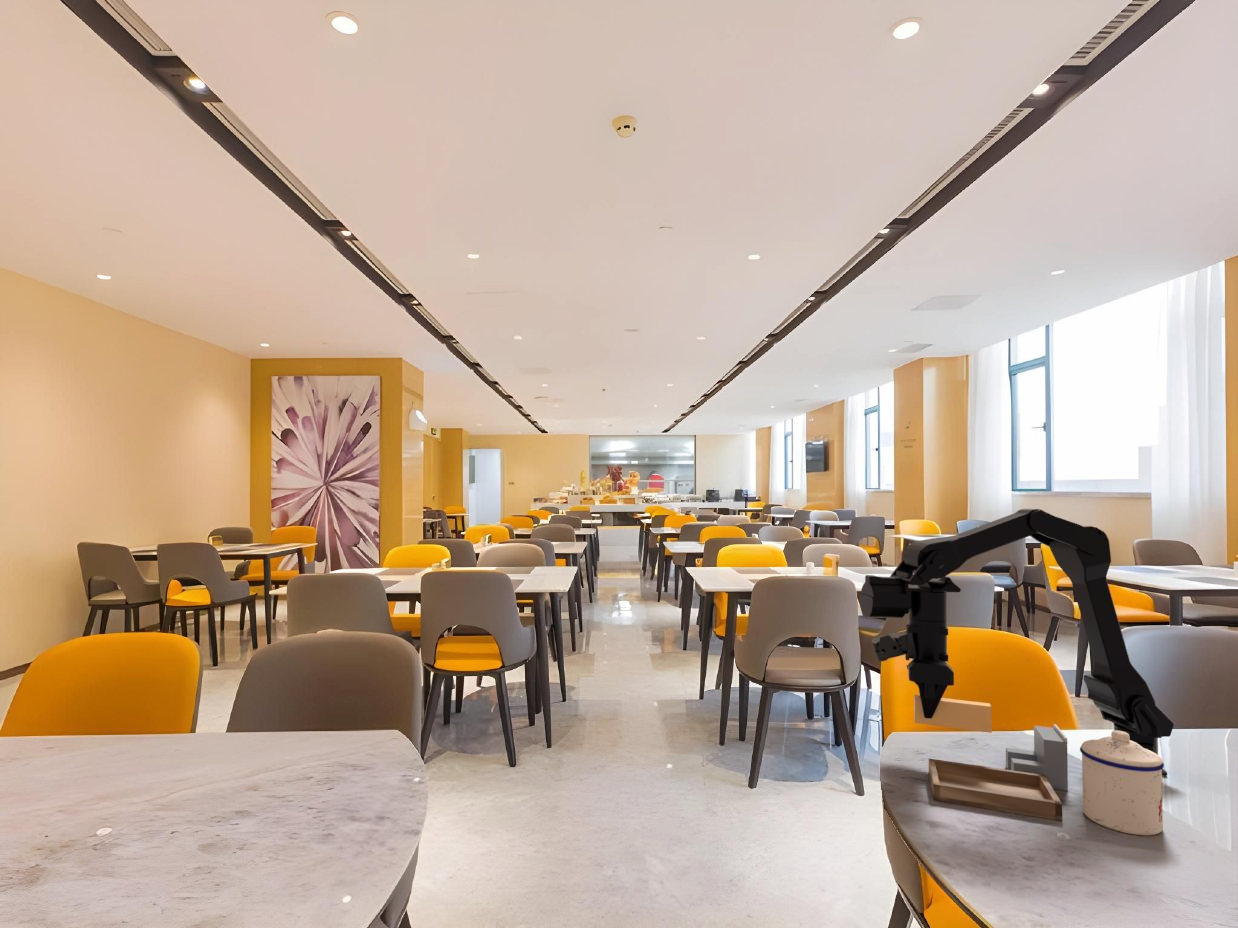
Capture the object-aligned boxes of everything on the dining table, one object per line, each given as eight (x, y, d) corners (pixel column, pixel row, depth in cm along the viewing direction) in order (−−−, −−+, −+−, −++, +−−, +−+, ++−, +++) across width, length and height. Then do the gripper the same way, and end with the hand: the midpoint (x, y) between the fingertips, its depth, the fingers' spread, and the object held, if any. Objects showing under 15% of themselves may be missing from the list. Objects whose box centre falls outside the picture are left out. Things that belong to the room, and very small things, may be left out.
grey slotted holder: (1005, 766, 110) (1005, 718, 110) (1056, 773, 107) (1055, 724, 108) (1013, 782, 103) (1013, 731, 104) (1067, 790, 101) (1067, 738, 101)
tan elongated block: (914, 719, 113) (914, 694, 113) (989, 728, 109) (989, 703, 109) (914, 722, 111) (914, 697, 111) (991, 732, 107) (991, 706, 107)
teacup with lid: (1182, 840, 86) (1180, 746, 87) (1103, 833, 88) (1102, 741, 88) (1126, 799, 98) (1124, 717, 99) (1057, 794, 99) (1056, 713, 100)
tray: (928, 772, 106) (928, 758, 106) (1044, 790, 101) (1044, 774, 101) (933, 799, 96) (933, 783, 97) (1062, 820, 91) (1062, 803, 91)
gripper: (875, 607, 123) (874, 695, 123) (874, 623, 106) (874, 725, 105) (943, 612, 119) (943, 703, 119) (954, 629, 102) (954, 736, 101)
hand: (927, 715), depth 111 cm, fingers closed on tan elongated block, 2 cm apart
